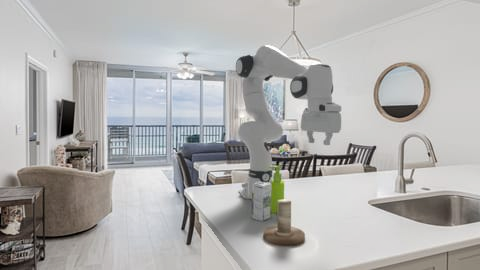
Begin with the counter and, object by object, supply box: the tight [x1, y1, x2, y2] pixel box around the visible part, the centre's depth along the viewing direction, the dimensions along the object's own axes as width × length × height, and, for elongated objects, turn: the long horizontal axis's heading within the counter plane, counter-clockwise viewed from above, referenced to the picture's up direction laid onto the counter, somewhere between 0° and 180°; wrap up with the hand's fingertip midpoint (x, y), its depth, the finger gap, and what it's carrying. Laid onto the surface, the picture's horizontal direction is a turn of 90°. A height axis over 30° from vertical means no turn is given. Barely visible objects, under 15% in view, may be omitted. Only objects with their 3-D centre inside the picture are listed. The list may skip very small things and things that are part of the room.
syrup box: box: [251, 182, 272, 222], centre depth 122 cm, size 6×6×14 cm
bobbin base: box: [263, 225, 306, 247], centre depth 104 cm, size 14×14×2 cm
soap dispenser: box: [269, 165, 285, 214], centre depth 131 cm, size 6×7×20 cm
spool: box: [275, 198, 293, 237], centre depth 103 cm, size 6×6×11 cm
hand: (318, 143), depth 114 cm, fingers open, 8 cm apart
